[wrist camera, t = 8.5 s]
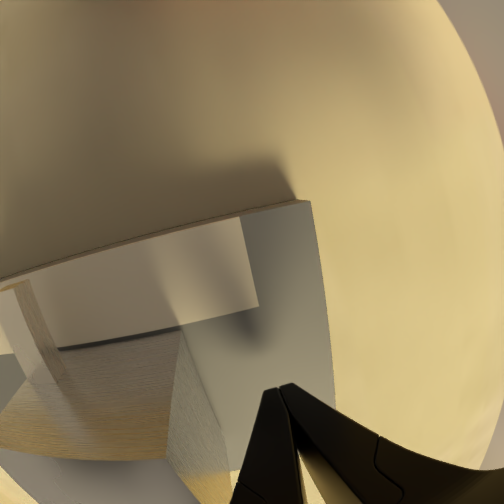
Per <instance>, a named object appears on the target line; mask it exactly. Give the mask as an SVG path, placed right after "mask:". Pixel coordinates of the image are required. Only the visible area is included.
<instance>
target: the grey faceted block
mask: <svg viewBox="0 0 504 504" xmlns="http://www.w3.org/2000/svg"><path fill="white" fill-rule="evenodd" d="M0 323H1V326H2V328H3V330H4V333H5V335H6V337H7V339H8V342H9V344H10V346H11V348H12V350H13V352H14V354H15V356H16V358H17V360H18V362H19V364H20V366H21V368H22V369H23V371H24V373H25V375H26V377H27V379H26V380H25V382H24V383H23V384H22V385H21V387H20V388H19V389H18V391H17V392H16V393H15V395H14V396H13V397H12V399H11V400H10V401H9V403H8V404H7V405H6V407H5V408H4V410H3V411H2V412H1V414H0V466H1V467H2V468H3V469H4V470H5V471H6V472H7V473H8V474H9V476H10V477H11V478H12V479H13V480H14V481H15V482H16V483H17V484H18V485H19V486H20V487H22V488H23V489H24V490H25V491H26V492H27V493H28V494H29V495H30V496H31V497H32V498H33V499H35V500H36V501H37V502H38V503H39V504H229V503H230V500H231V498H232V495H233V493H232V486H231V479H230V472H229V464H228V457H227V449H226V441H225V438H224V436H223V434H222V431H221V429H220V427H219V425H218V422H217V420H216V418H215V416H214V413H213V411H212V409H211V406H210V404H209V401H208V399H207V397H206V394H205V392H204V389H203V387H202V384H201V382H200V379H199V377H198V374H197V371H196V369H195V366H194V363H193V361H192V358H191V355H190V353H189V350H188V347H187V344H186V342H185V339H184V336H183V333H182V330H178V331H173V332H168V333H164V334H159V335H154V336H149V337H143V338H138V339H133V340H128V341H122V342H116V343H111V344H105V345H99V346H93V347H86V348H80V349H73V350H67V351H58V349H57V347H56V345H55V343H54V341H53V338H52V336H51V334H50V332H49V329H48V327H47V325H46V322H45V320H44V317H43V315H42V313H41V310H40V307H39V305H38V302H37V299H36V297H35V294H34V291H33V288H32V285H31V282H30V279H27V280H24V281H20V282H17V283H14V284H11V285H8V286H5V287H3V288H2V289H0Z"/></svg>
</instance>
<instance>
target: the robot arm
mask: <svg viewBox="0 0 504 504" xmlns="http://www.w3.org/2000/svg"><path fill="white" fill-rule="evenodd" d="M298 452H299V455H300V457H301V459H302V461H303V463H304V465H305V467H306V468H307V470H308V472H309V474H310V476H311V478H312V479H313V481H314V483H315V485H316V487H317V489H318V490H319V492H320V494H321V496H322V498H323V499H324V501H325V503H326V504H504V468H501V469H495V470H473V469H468V468H464V467H460V466H457V465H453V464H449V463H446V462H443V461H439V460H436V459H433V458H430V457H427V456H424V455H421V454H418V453H416V452H413V451H410V450H408V449H406V448H404V447H402V446H399V445H397V444H395V443H393V442H391V441H389V440H388V439H386V438H384V437H382V436H380V437H379V435H378V434H376V433H375V432H373V431H371V430H369V429H368V428H366V427H364V426H362V425H361V424H359V423H357V422H355V421H354V420H352V419H350V418H349V417H347V416H345V415H344V414H342V413H340V412H339V411H337V410H335V409H334V408H332V407H330V406H329V405H327V404H326V403H324V402H322V401H321V400H319V399H318V398H316V397H315V396H313V395H311V394H310V393H308V392H307V391H305V390H304V389H302V388H301V387H299V386H298V385H296V384H295V383H292V382H291V383H287V384H284V385H281V386H279V388H278V387H274V388H270V389H266V390H264V391H263V394H262V397H261V401H260V405H259V408H258V412H257V416H256V419H255V423H254V426H253V430H252V433H251V437H250V440H249V444H248V447H247V450H246V454H245V457H244V460H243V464H242V467H241V470H240V473H239V477H238V480H237V481H238V482H237V483H236V486H235V489H234V492H233V495H232V498H231V500H230V503H229V504H308V503H307V497H306V491H305V486H304V480H303V475H302V470H301V464H300V459H299V455H298Z"/></svg>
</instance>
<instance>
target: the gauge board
mask: <svg viewBox="0 0 504 504" xmlns="http://www.w3.org/2000/svg"><path fill="white" fill-rule="evenodd" d="M27 279H30V282H31V285H32V288H33V291H34V294H35V297H36V299H37V302H38V305H39V307H40V310H41V313H42V315H43V317H44V320H45V322H46V325H47V327H48V329H49V332H50V334H51V336H52V338H53V341H54V343H55V345H56V347H57V349H58V351H67V350H73V349H80V348H86V347H93V346H99V345H105V344H111V343H116V342H122V341H128V340H133V339H138V338H143V337H149V336H154V335H159V334H164V333H168V332H173V331H178V330H182V333H183V336H184V339H185V342H186V344H187V347H188V350H189V353H190V355H191V358H192V361H193V363H194V366H195V369H196V371H197V374H198V377H199V379H200V382H201V384H202V387H203V389H204V392H205V394H206V397H207V399H208V401H209V404H210V406H211V409H212V411H213V413H214V416H215V418H216V420H217V422H218V425H219V427H220V429H221V431H222V434H223V436H224V438H225V441H226V449H227V457H228V464H229V471H235V470H240V469H241V467H242V464H243V460H244V457H245V454H246V450H247V447H248V444H249V440H250V437H251V433H252V430H253V426H254V423H255V419H256V416H257V412H258V408H259V405H260V401H261V397H262V394H263V391H264V390H266V389H270V388H274V387H278V388H279V386H281V385H284V384H287V383H291V382H292V383H295V384H296V385H298V386H299V387H301V388H302V389H304V390H305V391H307V392H308V393H310V394H311V395H313V396H315V397H316V398H318V399H319V400H321V401H322V402H324V403H326V404H327V405H329V406H330V407H332V408H334V409H335V410H336V404H335V389H334V376H333V364H332V353H331V343H330V333H329V324H328V315H327V307H326V299H325V291H324V284H323V276H322V269H321V263H320V256H319V249H318V243H317V237H316V231H315V225H314V219H313V214H312V208H311V202H310V201H307V200H292V201H287V202H283V203H278V204H273V205H269V206H264V207H259V208H255V209H250V210H246V211H242V212H237V213H233V214H228V215H224V216H220V217H216V218H211V219H207V220H203V221H199V222H195V223H191V224H187V225H183V226H179V227H175V228H171V229H167V230H163V231H159V232H155V233H152V234H148V235H144V236H140V237H137V238H133V239H129V240H126V241H122V242H118V243H115V244H111V245H108V246H104V247H101V248H97V249H94V250H90V251H87V252H83V253H80V254H77V255H73V256H70V257H67V258H63V259H60V260H57V261H54V262H50V263H47V264H44V265H41V266H38V267H35V268H31V269H28V270H25V271H22V272H19V273H16V274H13V275H10V276H7V277H4V278H1V279H0V289H2V288H3V287H5V286H8V285H11V284H14V283H17V282H20V281H24V280H27ZM26 379H27V377H26V375H25V373H24V371H23V369H22V368H21V366H20V364H19V362H18V360H17V358H16V356H15V354H14V352H13V350H12V348H11V346H10V344H9V342H8V339H7V337H6V335H5V333H4V330H3V328H2V326H1V323H0V414H1V412H2V411H3V410H4V408H5V407H6V405H7V404H8V403H9V401H10V400H11V399H12V397H13V396H14V395H15V393H16V392H17V391H18V389H19V388H20V387H21V385H22V384H23V383H24V382H25V380H26ZM298 455H299V452H298Z"/></svg>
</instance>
